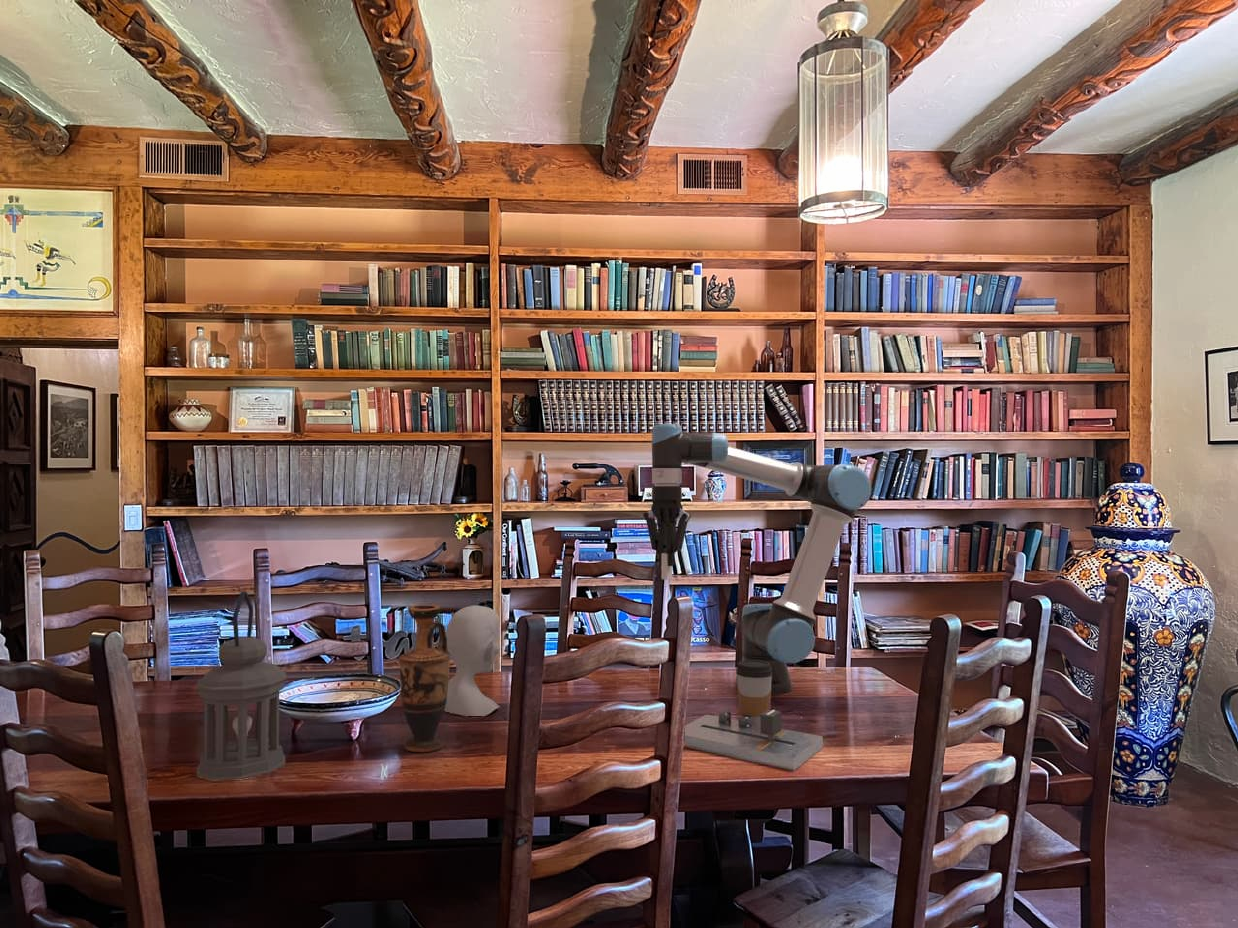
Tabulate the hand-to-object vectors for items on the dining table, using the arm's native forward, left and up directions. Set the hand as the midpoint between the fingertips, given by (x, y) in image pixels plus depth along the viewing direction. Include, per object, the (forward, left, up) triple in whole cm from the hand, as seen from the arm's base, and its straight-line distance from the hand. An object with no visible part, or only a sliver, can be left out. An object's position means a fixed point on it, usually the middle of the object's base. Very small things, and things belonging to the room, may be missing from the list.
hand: (666, 578), depth 202 cm
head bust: (+25, -43, -33) cm, 59 cm away
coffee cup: (+3, +25, -33) cm, 41 cm away
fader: (+15, +35, -32) cm, 50 cm away
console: (+15, +29, -32) cm, 46 cm away
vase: (+55, -28, -33) cm, 69 cm away
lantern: (+83, -49, -33) cm, 102 cm away
